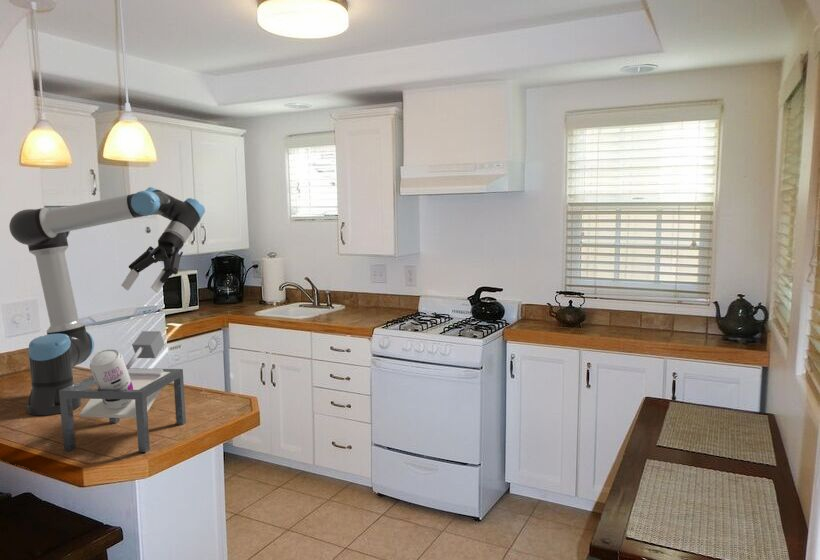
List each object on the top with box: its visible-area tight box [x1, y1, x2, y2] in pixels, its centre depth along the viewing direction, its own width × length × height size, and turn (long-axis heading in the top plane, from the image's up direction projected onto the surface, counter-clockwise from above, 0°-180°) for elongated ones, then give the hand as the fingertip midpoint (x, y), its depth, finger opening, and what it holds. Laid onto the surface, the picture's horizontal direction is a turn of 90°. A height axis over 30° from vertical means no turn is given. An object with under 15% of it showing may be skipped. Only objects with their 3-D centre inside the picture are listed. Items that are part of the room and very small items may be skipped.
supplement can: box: [89, 348, 134, 409], centre depth 166 cm, size 8×8×15 cm
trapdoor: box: [78, 330, 170, 419], centre depth 180 cm, size 18×35×5 cm, turn 174°
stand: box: [59, 367, 187, 454], centre depth 173 cm, size 23×23×16 cm
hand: (139, 289), depth 193 cm, fingers open, 13 cm apart
